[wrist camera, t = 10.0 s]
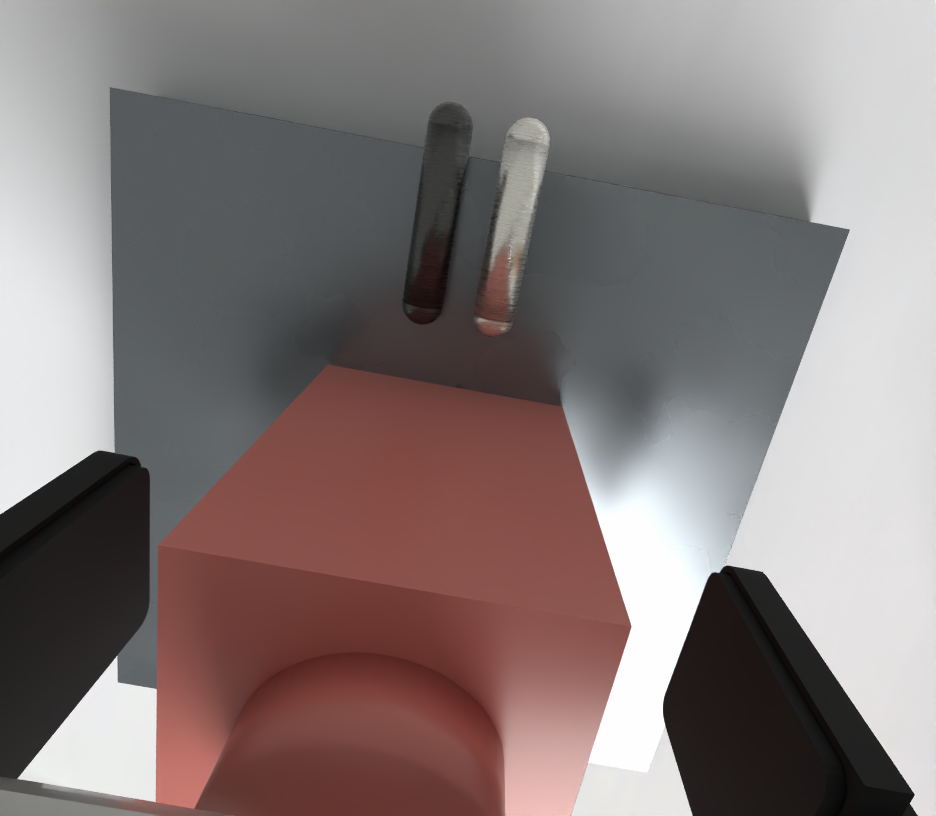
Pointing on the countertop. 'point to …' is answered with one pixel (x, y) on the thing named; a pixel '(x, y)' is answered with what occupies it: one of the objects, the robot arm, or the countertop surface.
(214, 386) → the grey plate with peg
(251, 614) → the pink cube with dome
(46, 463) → the countertop surface
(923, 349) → the countertop surface
